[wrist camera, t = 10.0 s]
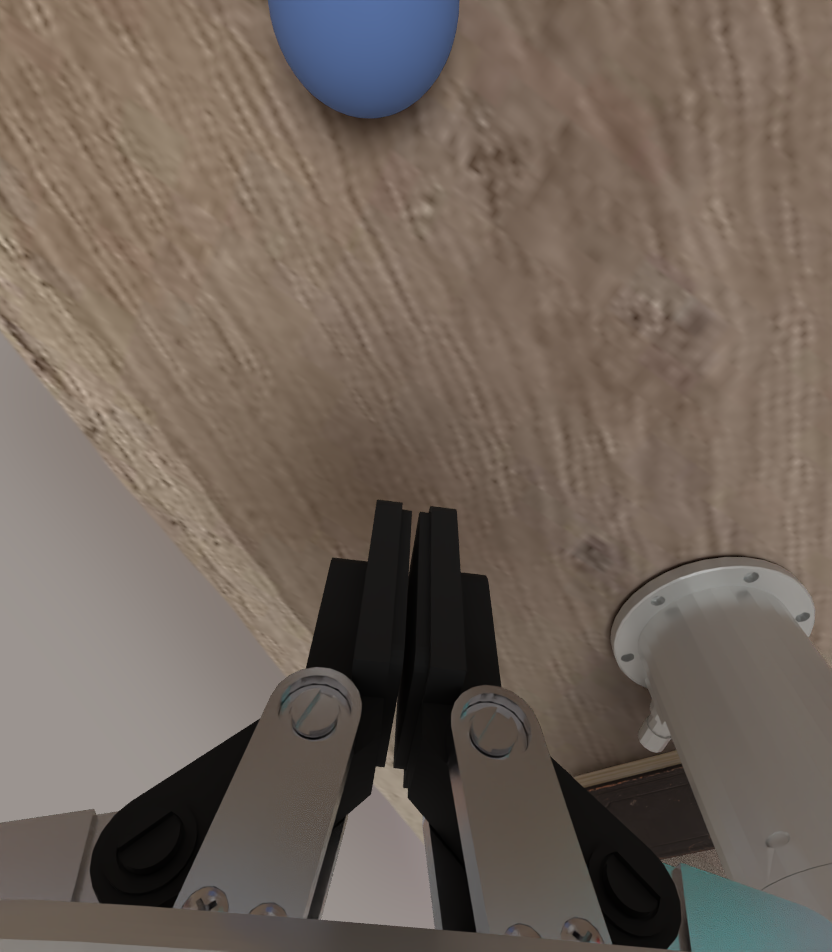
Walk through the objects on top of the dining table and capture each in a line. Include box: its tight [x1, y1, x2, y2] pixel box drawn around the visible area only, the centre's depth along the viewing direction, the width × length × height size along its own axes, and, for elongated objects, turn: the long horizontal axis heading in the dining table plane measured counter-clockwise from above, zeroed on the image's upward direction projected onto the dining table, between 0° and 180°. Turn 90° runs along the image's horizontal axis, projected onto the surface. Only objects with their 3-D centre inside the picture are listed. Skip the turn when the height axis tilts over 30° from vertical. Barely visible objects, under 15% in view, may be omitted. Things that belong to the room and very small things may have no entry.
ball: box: [268, 0, 459, 118], centre depth 17 cm, size 6×6×6 cm
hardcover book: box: [573, 750, 715, 860], centre depth 48 cm, size 16×23×2 cm
